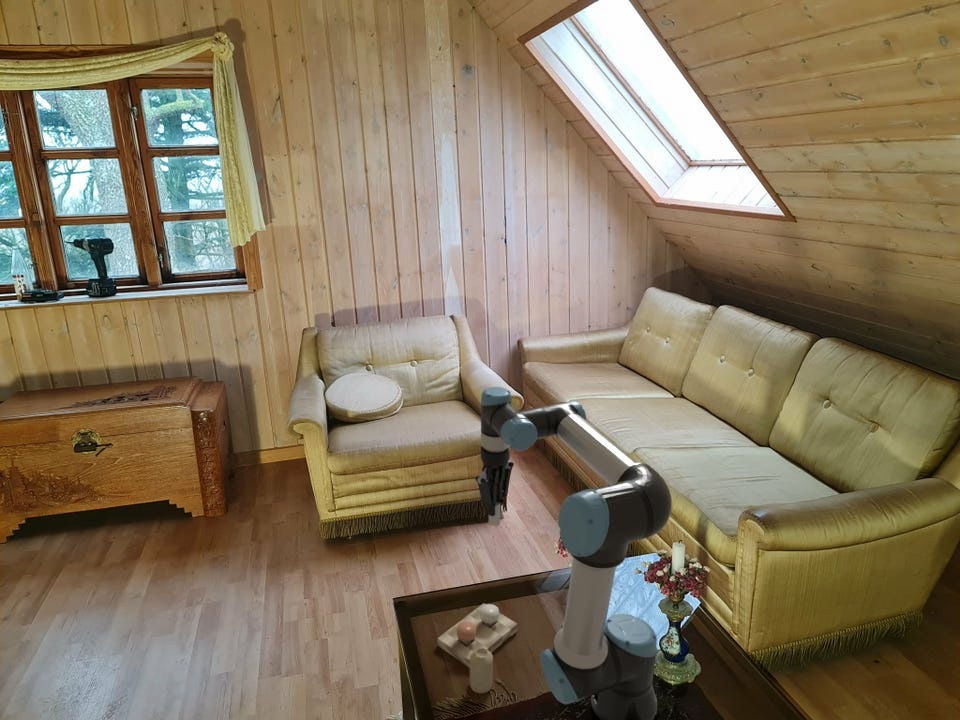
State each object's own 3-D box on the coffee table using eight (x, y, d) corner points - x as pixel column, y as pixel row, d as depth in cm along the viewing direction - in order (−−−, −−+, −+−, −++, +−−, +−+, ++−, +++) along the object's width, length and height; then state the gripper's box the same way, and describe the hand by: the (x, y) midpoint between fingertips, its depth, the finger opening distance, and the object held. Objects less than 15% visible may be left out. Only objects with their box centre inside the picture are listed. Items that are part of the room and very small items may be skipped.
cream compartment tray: (517, 630, 191) (517, 623, 190) (471, 669, 178) (471, 661, 178) (483, 610, 198) (483, 603, 198) (437, 645, 186) (437, 638, 185)
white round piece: (502, 624, 191) (502, 610, 189) (490, 634, 188) (490, 619, 186) (488, 615, 194) (488, 601, 193) (476, 625, 191) (476, 611, 189)
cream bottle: (490, 695, 171) (490, 663, 167) (467, 691, 172) (467, 659, 168) (494, 677, 176) (494, 646, 172) (472, 674, 177) (472, 642, 173)
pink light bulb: (480, 642, 185) (480, 627, 183) (466, 653, 182) (466, 638, 180) (465, 633, 188) (465, 618, 186) (452, 643, 185) (452, 628, 183)
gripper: (500, 432, 190) (499, 508, 198) (467, 449, 181) (467, 528, 189) (522, 441, 185) (520, 518, 194) (489, 459, 176) (488, 540, 185)
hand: (494, 523), depth 191 cm, fingers closed
